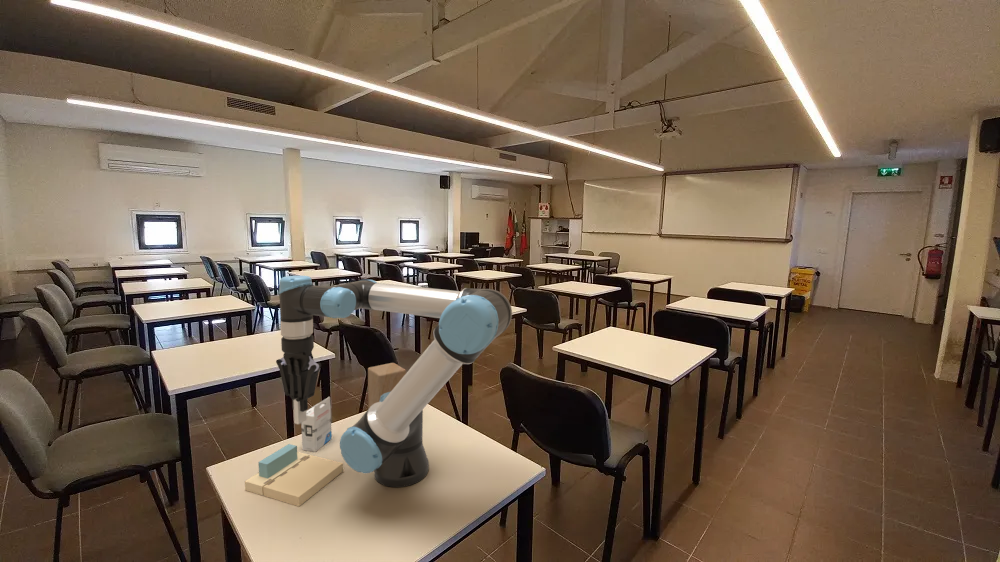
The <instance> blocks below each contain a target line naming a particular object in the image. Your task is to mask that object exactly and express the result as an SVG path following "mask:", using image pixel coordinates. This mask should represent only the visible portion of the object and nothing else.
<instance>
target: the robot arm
mask: <svg viewBox="0 0 1000 562" xmlns="http://www.w3.org/2000/svg"><path fill="white" fill-rule="evenodd" d="M278 289H279V290H278V297H279V311H280V314H279V315H280V336H281V343H280V344H281V345H280V346H281V351H282V352H283V356H282V357H280V358H278V359H276V361H275V363H276V366H277V367H278V369H279V373H280V377H281V382H282V383H281V384H282V386H283V391H284V395H285V396H286V397H288V396H289V397H290V399H291V408H292V410H293V421H294V424H295V425H301V423H302V422H304V421H306V420H307V417H306V411H307V410H309V408H308V407H309V406H308V405H309V403H308V400H309V398H312V397H313V396H315V392H316V388H317V387H316V386H317V382H318V381H317V380H318V377H319V376H318V375H319V371H320V369H321V367H322V363H321V362H318V363H317V362H316V361H315V360H314V355H313V353H312V352H313V350H314V347H315V345H314V342H315V341H314V335H313V333H314V316H316V317H318V316H319V317H326V318H331V319H339V318H340V319H345V318H348V317H350V316H351V314H352V313H354V312H355V311H357V310H359V309H360V310H361V309H365V310H372V311H382V312H390V313H397V314H405V315H411V316H412V315H413V316H420V317H427V318H428V317H429V318H434V319H439V320H438V324H437V325H436V326H435V327H434V329H433V332H432V334H433V340H432V341H431V343H430V344H429V345H428V347H427V348H426V349H425V350H424V351H423V352H422V353H421V355H420V356H419V357H418V358H417V360H416V361H414V363H413V364H412V365H411V367H410V368H409V369H408V371H406V374H405V375H404V377H403V378H402V379H401V380H400V381H399V383H398V384H397V385H396V386H395V387H394V389H393V390H392V391H391V392H387V393H384V394H383V395H381V397H380V401H379V402H377V403H374V404H373V405H372V406H371V407H370V408H369V407H368V408H367V410H366V411H365V413H363V415H362V416H361V417H360V418H359V419H358V421H357V422H356V423H354V424H353V425H352V426H350V427H348V428H347V429H346V430H345V431H344V432H343V433H342V435H341V436H340V439H339V449H340V454H341V457H342V458H343V460H344V461H345V463H346V464H347V465H348V466H349V467H350V468H351V469H352V470H354V471H356V472H357V473H361V474H370V473H372V472H374V473H373V474H374V475H373V476H374V479H375V480H376V482H378V483H379V484H381V485H383V486H385V487H388V488H389V487H390V488H403V487H408V486H411V485H415V484H416V483H419V482H421V480H423V479H424V478H425V477H426V476H427V474H428V473H429V469H430V467H429V466H430V465H429V459H428V455H427V453H426V452H427V451H426V450H425V447H424V444H423V437H424V436H423V434H424V433H423V424H424V423H423V421H424V420H423V418H424V417H423V416H424V414H423V413H424V411H423V410H424V409H425V407H426V406H427V405H428V404H429V403H430V402H431V401H432V399H434V397H435V396H436V395H437V394H438V393H439V391H441V389H442V388H444V386H445V385H446V384H447V382H448V381H450V379H451V378H452V377H453V376H454V375H455V374H456V372H457V371H458V370H459V369H460V368H461V367H462V366H463V365H470V364H472V363H474V362H475V361H476V360H477V359H478V357H480V355H481V354H482V353H483V352H484V351H485V350H486V348H488V347H489V345H491V343H492V342H493V341H494V340H495V339H497V338H498V337H499V336H500V335H501V334H503V333H504V332H505V331H506V330H507V329H508V327H509V326H510V325H511V321H512V319H513V309H512V306H511V303H510V301H509V299H508V298H507V297H506V296H505V295H504V294H503V293H502V292H500V291H499V290H496V289H491V288H470V287H469V288H468V287H465V288H463V289H461V291H459V290H452V289H451V290H450V289H441V288H432V287H421V286H412V285H405V284H404V285H402V284H393V283H386V282H385V283H384V282H383V283H382V282H377V281H376V280H373V279H360V280H358V281H352V282H347V283H341V284H336V285H334V284H333V285H327V286H325V285H322V286H321V285H314V284H313V282H312V278H311V277H310V276H308V275H287V276H283V277H281V278H280V279H279V288H278Z"/></svg>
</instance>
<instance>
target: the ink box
mask: <svg viewBox="0 0 1000 562" xmlns="http://www.w3.org/2000/svg"><path fill="white" fill-rule="evenodd" d="M331 409H332V406H331V397H330V396H328V397H327V398H324V399H323V400H322V401H320V402H318V403H316V404H315V405H313V406H312V407H311V408H308V409H307V410H306V417H307V420H306V421H304V422H302V423H300V425H301V426H300V427H301V448H302V451H309V452H318V451H319V450H320V449H321V448H322V447H324V446H325V445H326V444H327V443H328V442H329V441H331V440H332V435H333V434H332V410H331Z"/></svg>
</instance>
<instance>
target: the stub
mask: <svg viewBox="0 0 1000 562" xmlns="http://www.w3.org/2000/svg"><path fill="white" fill-rule="evenodd" d="M310 455H311V454H309V453H303V452H300V451H298V446H297V445H294V444H291V443H288V444H286V445H284V446H283V447H281V448H280V449H278V450H276V451H275V452H273V453H271V454H269V455H268V456H266V457H265V458H263V459H261V460H259V461H258V472H257V473H256V474H254V475H251V476H250V477H249V478H248V479H246V480H245V481H244V490H245V491H247V492H250V493H253V494H257V495H260V496H264V490H263V487H264V486H265V485H267V484H268V483H270V482H271V481H273V480H274V479H276V478H277V477H279V476H280V475H282V474H283V473H285V472H286V471H288V470H289V469H291V468H292V467H294V466H295V465H297V464H298V463H300V462H301V461H302V460H304V459H305V458H307V457H308V456H310Z"/></svg>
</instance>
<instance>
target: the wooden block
mask: <svg viewBox="0 0 1000 562" xmlns="http://www.w3.org/2000/svg"><path fill="white" fill-rule="evenodd" d="M406 373H407V370H406V369H405V368H404V367H402V366H400V365H399V364H396V363H395V362H390V363H385V364H380V365H379V364H378V365H375V366H370V367H368V368H367V386H368V387H367V389H368V392H367V395H368V401H367V403H368V409H369V408H370V407H371V406H372V405H373V404H374V403H377V402H379V401H380V397H381V395H383V394H384V393H387V392H391V391H392V390H393V389H394V387H395V386H396V385H397V384H398V383H399V381H400V380H401V379H402V378H403V377H404V375H405V374H406Z"/></svg>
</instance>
